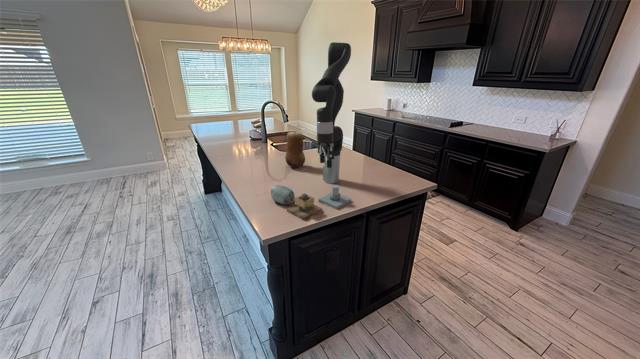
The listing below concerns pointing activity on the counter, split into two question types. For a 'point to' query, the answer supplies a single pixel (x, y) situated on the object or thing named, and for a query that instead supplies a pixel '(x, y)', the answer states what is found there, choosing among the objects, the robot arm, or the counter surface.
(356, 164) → the counter surface
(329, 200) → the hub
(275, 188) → the teal-grey streaked oval part
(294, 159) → the butternut squash
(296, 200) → the square wooden frame
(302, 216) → the stand
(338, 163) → the robot arm
